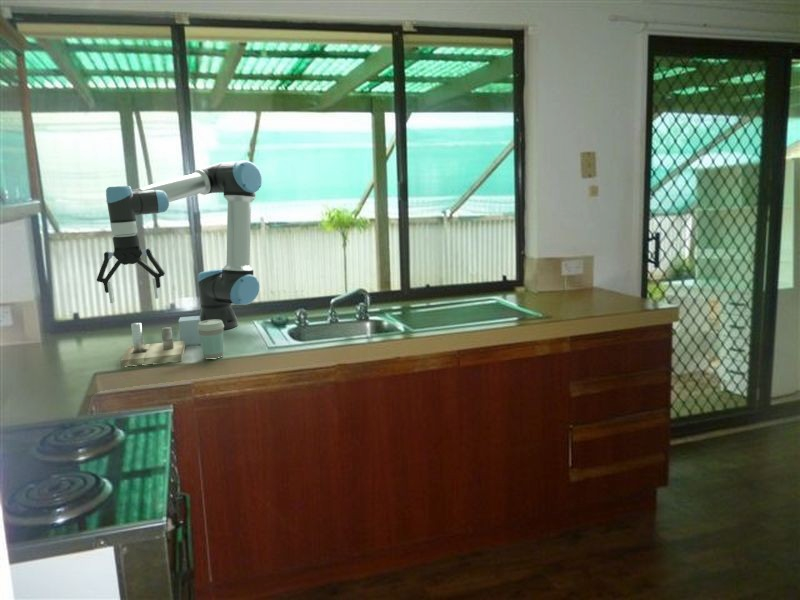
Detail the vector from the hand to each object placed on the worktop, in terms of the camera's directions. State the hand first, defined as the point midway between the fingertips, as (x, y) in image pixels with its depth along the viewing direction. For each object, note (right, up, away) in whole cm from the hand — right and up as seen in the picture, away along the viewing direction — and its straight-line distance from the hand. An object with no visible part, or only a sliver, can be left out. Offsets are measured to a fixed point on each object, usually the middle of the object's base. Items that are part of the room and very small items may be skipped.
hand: (134, 300), depth 197 cm
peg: (0, -19, +3) cm, 20 cm away
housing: (+11, -15, +22) cm, 29 cm away
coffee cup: (+25, -19, +2) cm, 32 cm away
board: (+5, -19, +5) cm, 20 cm away
